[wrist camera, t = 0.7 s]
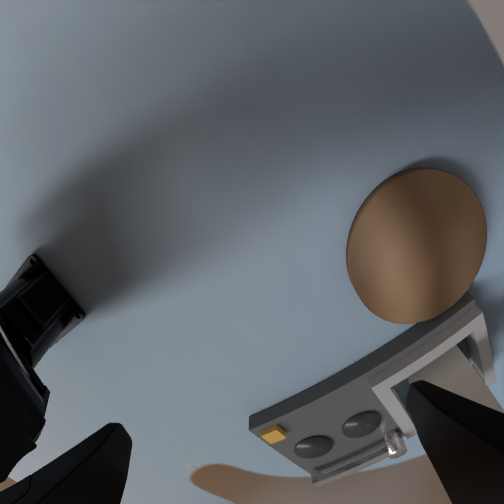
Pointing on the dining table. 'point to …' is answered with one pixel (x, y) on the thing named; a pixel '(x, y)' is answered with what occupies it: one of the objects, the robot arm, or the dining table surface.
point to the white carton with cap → (457, 378)
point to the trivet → (416, 245)
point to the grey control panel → (369, 394)
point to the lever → (364, 459)
